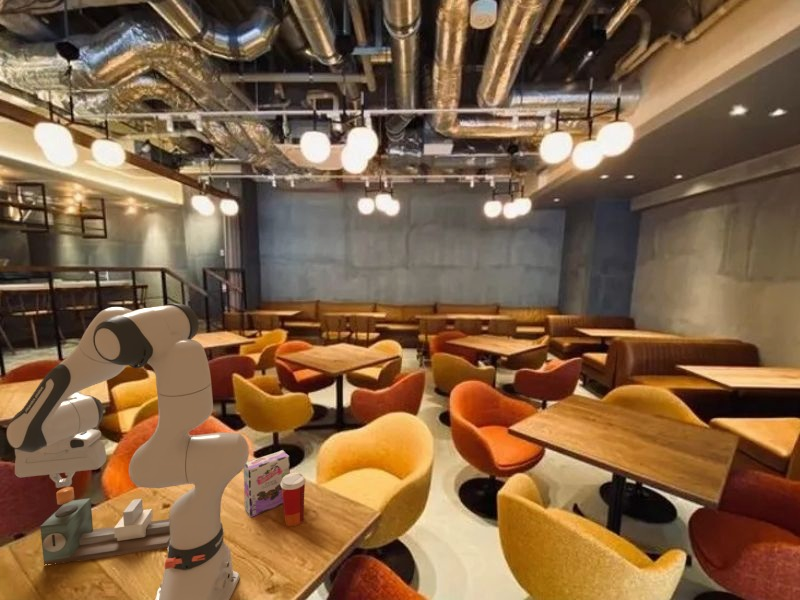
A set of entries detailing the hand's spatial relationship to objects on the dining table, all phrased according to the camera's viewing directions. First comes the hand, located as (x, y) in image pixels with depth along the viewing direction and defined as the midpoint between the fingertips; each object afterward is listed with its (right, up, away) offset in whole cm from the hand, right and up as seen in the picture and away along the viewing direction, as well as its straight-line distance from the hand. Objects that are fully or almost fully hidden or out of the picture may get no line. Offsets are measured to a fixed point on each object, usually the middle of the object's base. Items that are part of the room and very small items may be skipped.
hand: (64, 486), depth 105 cm
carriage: (+16, -17, +5) cm, 24 cm away
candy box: (+50, -17, +21) cm, 57 cm away
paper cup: (+61, -18, +13) cm, 65 cm away
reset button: (0, -4, 0) cm, 4 cm away
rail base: (+12, -19, +4) cm, 23 cm away
